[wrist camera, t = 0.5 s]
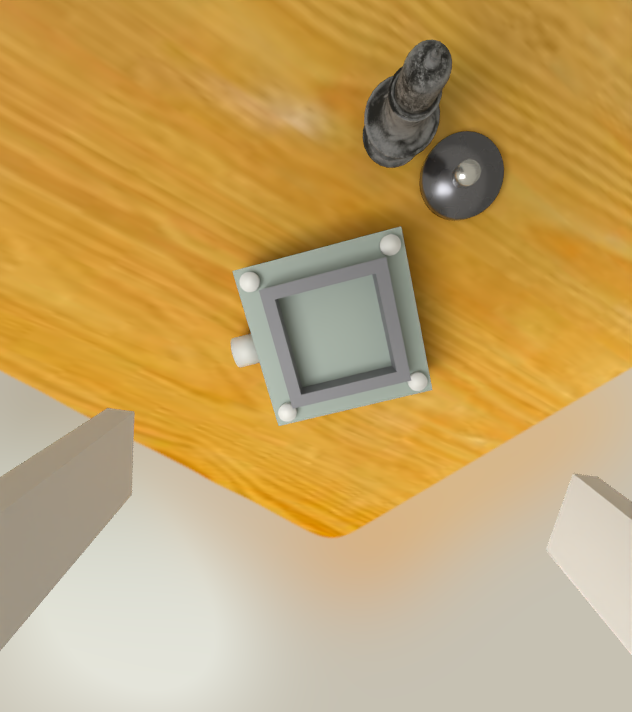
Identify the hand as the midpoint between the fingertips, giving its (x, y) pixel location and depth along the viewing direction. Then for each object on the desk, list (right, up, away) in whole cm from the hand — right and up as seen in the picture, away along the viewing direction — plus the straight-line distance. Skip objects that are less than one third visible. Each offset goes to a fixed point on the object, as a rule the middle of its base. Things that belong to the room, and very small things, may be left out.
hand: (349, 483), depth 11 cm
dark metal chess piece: (+6, +23, +21) cm, 32 cm away
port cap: (+12, +20, +21) cm, 31 cm away
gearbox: (0, +7, +24) cm, 25 cm away
